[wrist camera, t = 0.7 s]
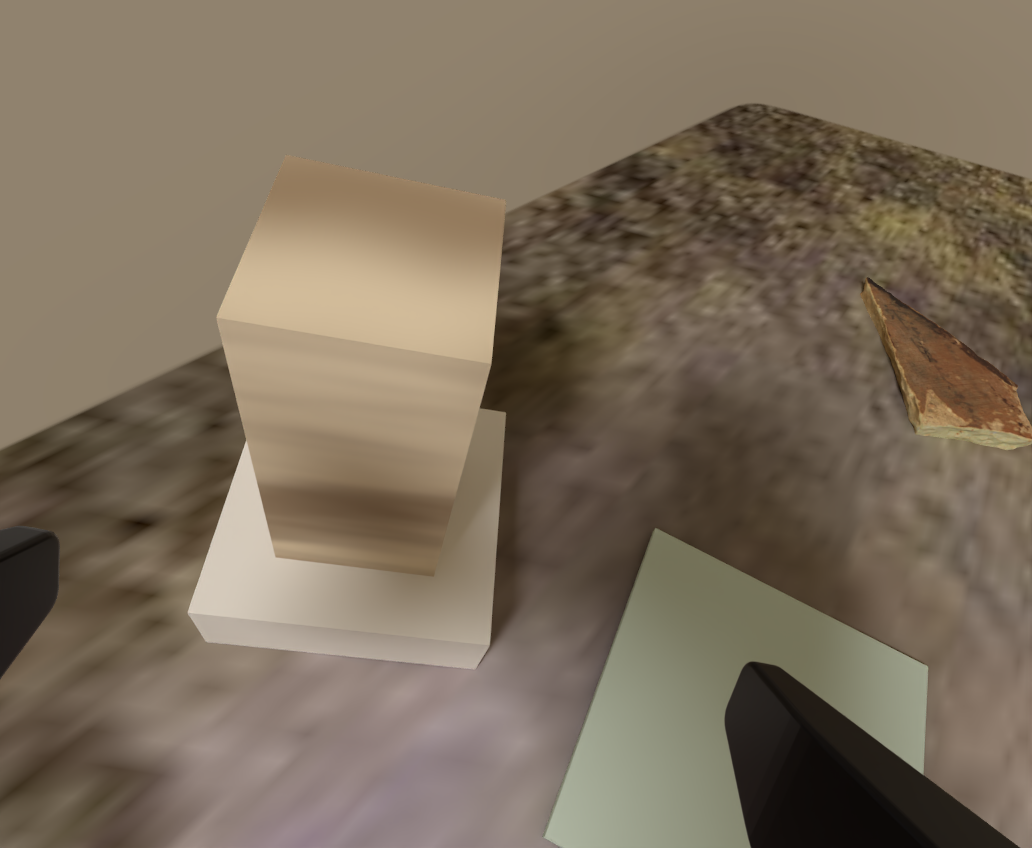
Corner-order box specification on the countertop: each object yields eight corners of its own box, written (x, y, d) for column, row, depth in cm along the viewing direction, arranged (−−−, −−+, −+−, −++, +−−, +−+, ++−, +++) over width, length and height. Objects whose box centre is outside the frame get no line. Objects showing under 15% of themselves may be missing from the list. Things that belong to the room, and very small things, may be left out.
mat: (904, 1040, 19) (911, 1043, 19) (542, 837, 20) (544, 836, 20) (923, 668, 26) (928, 666, 26) (653, 531, 27) (655, 527, 27)
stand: (475, 669, 23) (489, 645, 20) (206, 641, 22) (187, 612, 19) (492, 452, 28) (506, 412, 26) (276, 419, 27) (268, 374, 24)
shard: (851, 294, 40) (869, 272, 39) (960, 316, 41) (982, 295, 40) (901, 439, 34) (925, 420, 33) (1028, 461, 35) (1057, 443, 34)
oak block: (433, 576, 21) (491, 364, 12) (275, 557, 21) (215, 317, 12) (449, 447, 24) (506, 199, 15) (311, 427, 23) (285, 154, 15)
